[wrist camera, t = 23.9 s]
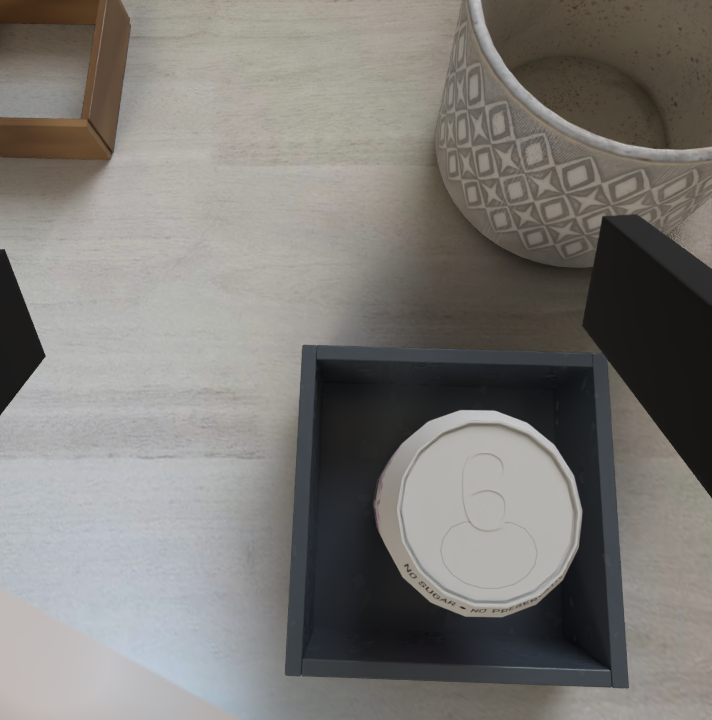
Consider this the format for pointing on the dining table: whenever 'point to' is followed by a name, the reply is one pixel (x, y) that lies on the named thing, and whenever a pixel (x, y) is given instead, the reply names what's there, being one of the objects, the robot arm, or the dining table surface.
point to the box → (103, 88)
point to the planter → (576, 119)
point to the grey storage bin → (375, 564)
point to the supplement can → (479, 513)
